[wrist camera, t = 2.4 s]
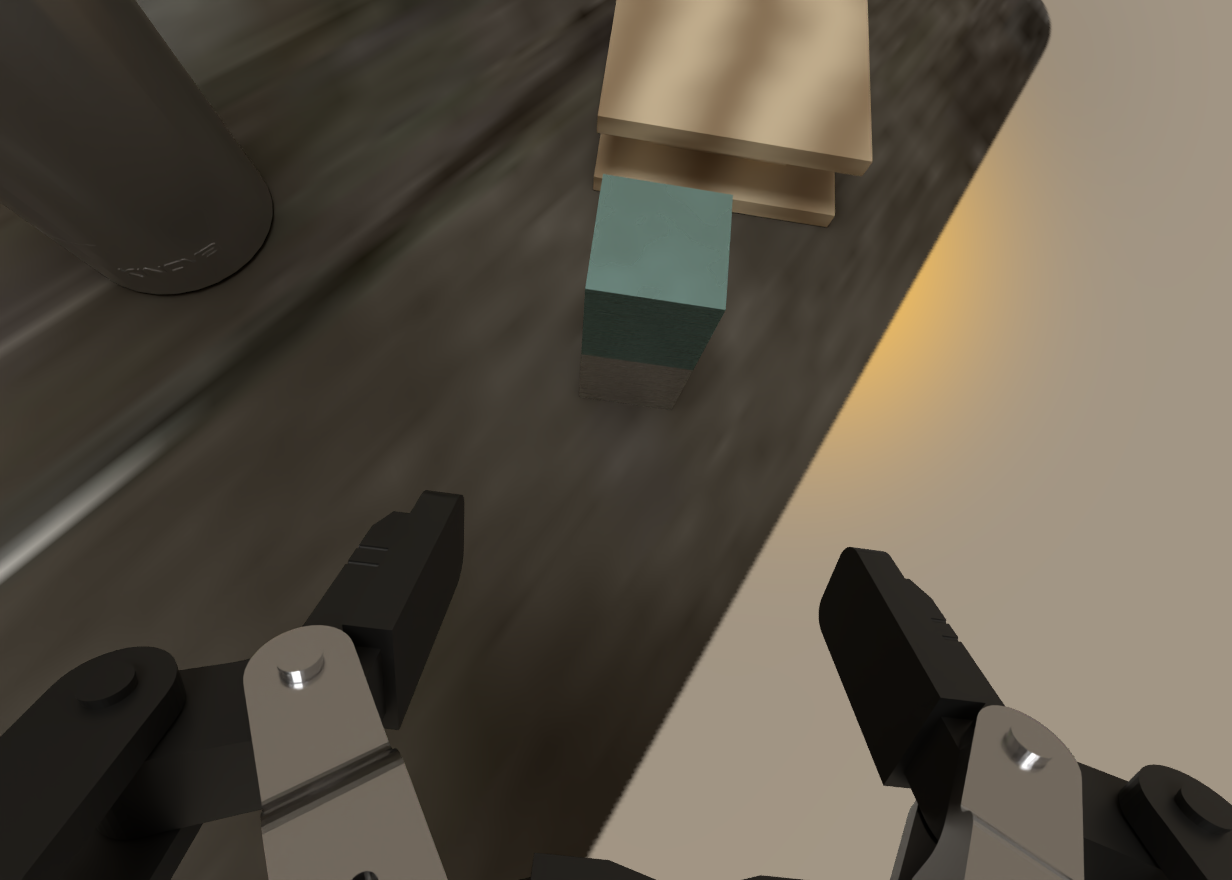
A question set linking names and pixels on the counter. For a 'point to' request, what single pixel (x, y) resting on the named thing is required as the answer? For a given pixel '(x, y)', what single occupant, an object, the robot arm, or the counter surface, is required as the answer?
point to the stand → (739, 100)
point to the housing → (652, 289)
